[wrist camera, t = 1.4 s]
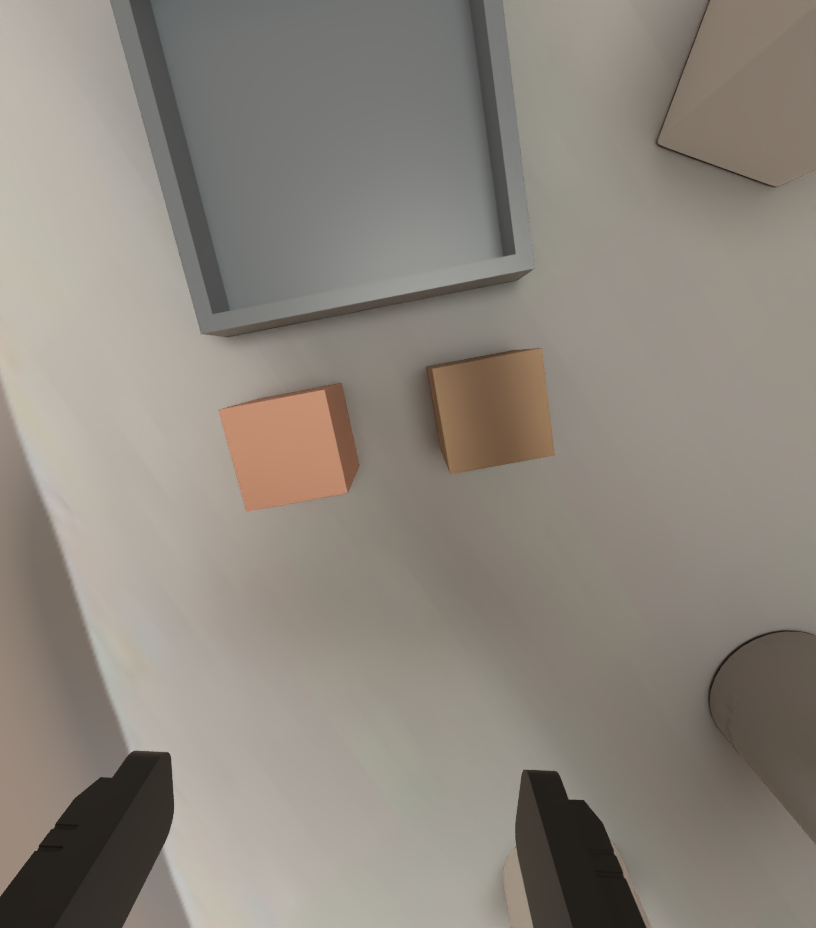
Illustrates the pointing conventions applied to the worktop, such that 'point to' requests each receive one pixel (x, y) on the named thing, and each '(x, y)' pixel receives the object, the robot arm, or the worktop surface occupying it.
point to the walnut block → (492, 409)
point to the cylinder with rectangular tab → (518, 898)
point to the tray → (330, 151)
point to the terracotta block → (291, 446)
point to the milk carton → (750, 91)
